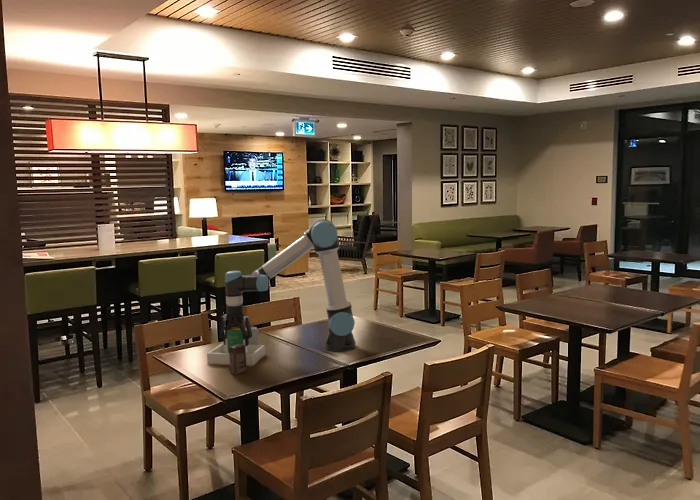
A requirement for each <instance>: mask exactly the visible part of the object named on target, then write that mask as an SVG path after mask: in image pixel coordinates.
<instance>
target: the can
mask: <svg viewBox="0 0 700 500" xmlns="http://www.w3.org/2000/svg"><path fill="white" fill-rule="evenodd" d="M245 329H246V327H245ZM246 331H247V329H246ZM251 331H252V337H251V338H249V345H260V340H259V339H260V337H259V330H258V328H257V326H251Z"/></svg>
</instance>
